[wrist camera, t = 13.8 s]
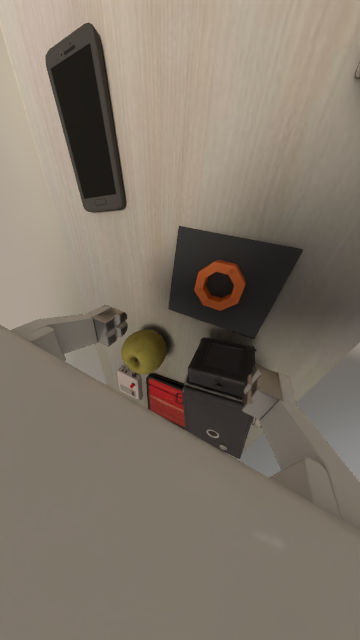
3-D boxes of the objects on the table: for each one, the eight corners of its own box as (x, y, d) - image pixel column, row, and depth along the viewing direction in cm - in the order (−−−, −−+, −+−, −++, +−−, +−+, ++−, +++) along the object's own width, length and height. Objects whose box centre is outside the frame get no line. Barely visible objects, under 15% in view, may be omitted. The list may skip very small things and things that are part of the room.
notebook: (223, 452, 36) (148, 415, 43) (224, 442, 38) (152, 408, 45) (237, 411, 28) (143, 375, 35) (238, 401, 30) (149, 368, 37)
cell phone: (88, 212, 23) (84, 212, 23) (49, 58, 17) (41, 52, 16) (126, 209, 21) (123, 208, 20) (98, 24, 14) (91, 15, 13)
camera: (252, 393, 28) (269, 330, 20) (252, 471, 20) (281, 416, 12) (198, 378, 32) (194, 320, 24) (178, 438, 24) (161, 379, 16)
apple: (177, 333, 28) (158, 359, 22) (167, 360, 32) (149, 388, 26) (143, 315, 29) (116, 335, 23) (138, 344, 34) (114, 366, 28)
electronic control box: (124, 392, 47) (117, 400, 45) (119, 356, 39) (110, 364, 37) (142, 401, 45) (136, 410, 43) (140, 365, 37) (132, 374, 35)
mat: (302, 249, 16) (303, 249, 15) (254, 337, 22) (254, 339, 22) (179, 226, 19) (178, 226, 19) (169, 308, 26) (168, 309, 25)
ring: (251, 267, 18) (251, 270, 16) (234, 309, 21) (233, 315, 20) (205, 256, 19) (201, 257, 18) (195, 297, 22) (191, 301, 21)
